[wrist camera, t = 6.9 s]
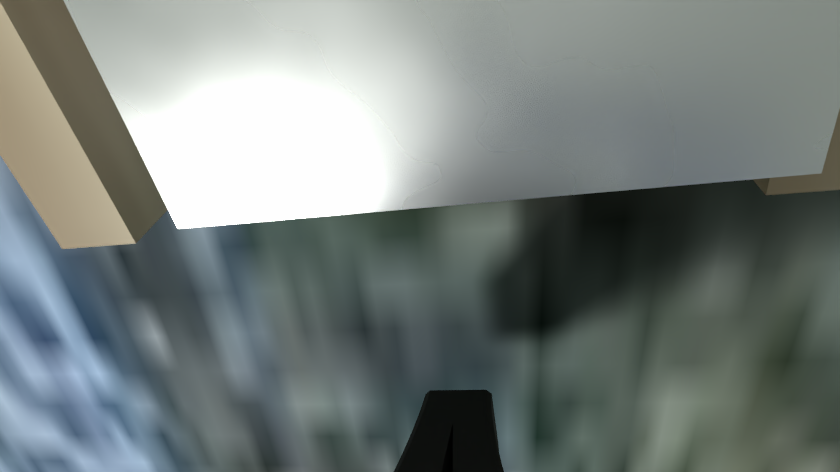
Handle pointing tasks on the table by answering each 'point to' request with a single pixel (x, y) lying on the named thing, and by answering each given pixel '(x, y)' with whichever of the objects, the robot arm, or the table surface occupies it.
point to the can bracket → (120, 135)
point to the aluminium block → (459, 98)
